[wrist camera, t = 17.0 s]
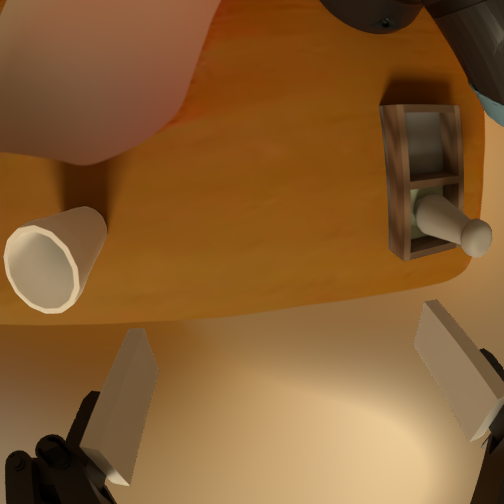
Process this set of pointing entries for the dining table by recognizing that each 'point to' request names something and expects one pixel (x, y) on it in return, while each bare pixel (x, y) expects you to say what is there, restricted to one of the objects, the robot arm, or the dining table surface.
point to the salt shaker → (452, 224)
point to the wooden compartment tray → (420, 170)
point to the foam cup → (54, 257)
